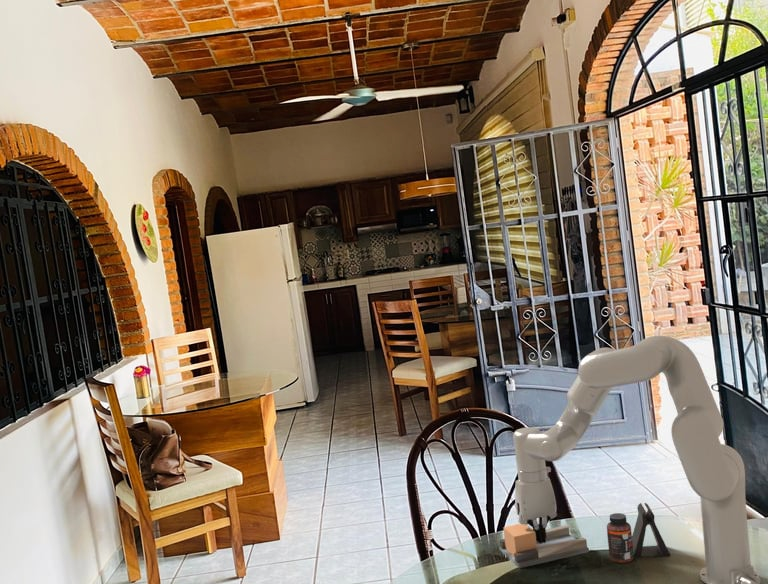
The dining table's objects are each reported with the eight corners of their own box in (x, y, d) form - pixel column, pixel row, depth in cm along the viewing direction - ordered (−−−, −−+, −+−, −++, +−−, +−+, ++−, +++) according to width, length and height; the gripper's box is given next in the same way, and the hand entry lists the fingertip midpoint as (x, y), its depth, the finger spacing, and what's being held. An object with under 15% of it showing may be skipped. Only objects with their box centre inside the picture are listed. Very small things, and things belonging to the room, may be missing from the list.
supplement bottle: (635, 563, 184) (631, 519, 184) (610, 564, 185) (606, 520, 185) (632, 553, 190) (628, 510, 189) (608, 554, 191) (604, 511, 191)
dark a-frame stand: (633, 558, 187) (629, 512, 187) (629, 548, 193) (625, 503, 193) (670, 556, 186) (666, 510, 185) (664, 546, 192) (660, 501, 191)
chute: (589, 551, 194) (588, 540, 194) (519, 568, 189) (518, 556, 189) (565, 534, 206) (564, 524, 206) (499, 549, 202) (498, 538, 202)
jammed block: (537, 554, 194) (535, 532, 193) (516, 559, 192) (514, 536, 192) (526, 544, 200) (523, 522, 200) (505, 549, 199) (503, 527, 199)
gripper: (551, 465, 202) (559, 531, 203) (500, 476, 199) (509, 542, 199) (564, 472, 194) (572, 540, 195) (511, 484, 191) (520, 552, 192)
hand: (540, 541), depth 197 cm, fingers closed
